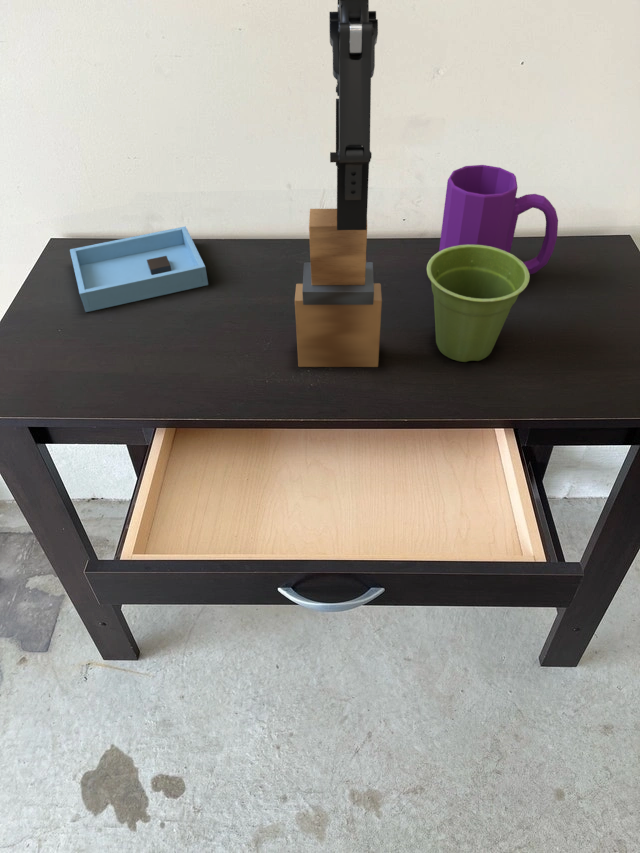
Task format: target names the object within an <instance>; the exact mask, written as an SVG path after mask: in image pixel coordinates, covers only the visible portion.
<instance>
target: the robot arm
mask: <svg viewBox="0 0 640 853" xmlns="http://www.w3.org/2000/svg"><path fill="white" fill-rule="evenodd" d="M369 4H370V2H369V0H337V11H328V12H329V13H328V14H329V16H328V18H329V44H330V46H331V49H332V52H331V53H332V76H333V78H334V79H335V80H336V86H335V93H336V96H337V97H338V98H335V151H330V152H329V163H335V166H336V209H337V230H367V231H368V200H369V176H370V175H369V174H370V163H371V160H372V154H373V153H372V152H371V105H372V104H371V100H372V99H371V98H372V96H371V95H372V78H373V77H374V74H375V66H376V64H375V63H376V62H375V61H376V60H375V59H376V55H375V54H376V50H375V49H376V44H377V41H378V35H379V19H378V18H377V11H376V10H370V8H369V7H370V6H369Z"/></svg>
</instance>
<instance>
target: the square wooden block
mask: <svg viewBox="0 0 640 853" xmlns="http://www.w3.org/2000/svg"><path fill="white" fill-rule="evenodd" d="M302 289H303V283H296V284H295V294H294V312H295V330H296V348H297V365H298V367H299V368H378V367H379V360H380V358H379V357H380V341H381V340H380V339H381V326H382V325H381V324H382V323H381V322H382V305H383V295H382V284H381V283H379V282H378V283H377V282H376V283H375V282H374V301H373V305H303V294H302Z"/></svg>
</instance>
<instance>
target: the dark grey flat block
mask: <svg viewBox="0 0 640 853" xmlns="http://www.w3.org/2000/svg"><path fill="white" fill-rule="evenodd" d="M147 263H148V267H149V269H150V272H151V275H155V274H160V273H164V272H169V271H172V270H171V265H170V263H169V261H168V258H167V256H162V257H158V258H153V259H148V260H147Z"/></svg>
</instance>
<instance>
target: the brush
mask: <svg viewBox="0 0 640 853" xmlns="http://www.w3.org/2000/svg"><path fill="white" fill-rule="evenodd" d="M308 216H309V218H308V234H309V238H308V239H309V257H310V260H309V261H310V262H303V273H302V284H303V289H302V294H303V305H373V301H374V283H375V281H374V262H373V261H367V245H368V229H367V230H337V208H310V209H309V215H308Z"/></svg>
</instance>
